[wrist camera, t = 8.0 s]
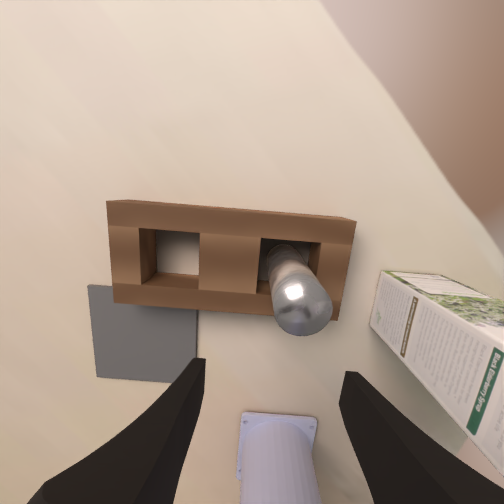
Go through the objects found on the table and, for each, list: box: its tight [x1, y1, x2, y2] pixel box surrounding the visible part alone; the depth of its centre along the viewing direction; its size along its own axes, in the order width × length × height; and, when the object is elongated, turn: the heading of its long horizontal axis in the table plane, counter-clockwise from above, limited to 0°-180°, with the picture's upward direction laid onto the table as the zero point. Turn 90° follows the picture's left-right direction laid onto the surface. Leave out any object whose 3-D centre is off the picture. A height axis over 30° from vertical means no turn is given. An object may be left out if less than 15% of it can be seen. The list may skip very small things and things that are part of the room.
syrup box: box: [369, 271, 504, 477], centre depth 14 cm, size 6×6×14 cm
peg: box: [266, 244, 333, 336], centre depth 16 cm, size 3×3×9 cm
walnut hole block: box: [106, 200, 357, 321], centre depth 19 cm, size 8×18×3 cm, turn 85°
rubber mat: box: [87, 285, 197, 383], centre depth 23 cm, size 10×10×1 cm
